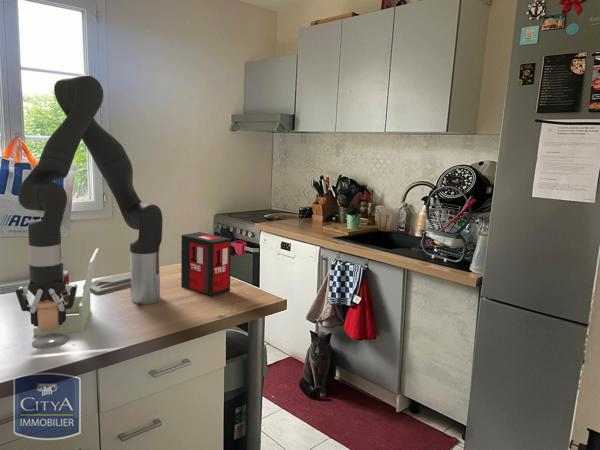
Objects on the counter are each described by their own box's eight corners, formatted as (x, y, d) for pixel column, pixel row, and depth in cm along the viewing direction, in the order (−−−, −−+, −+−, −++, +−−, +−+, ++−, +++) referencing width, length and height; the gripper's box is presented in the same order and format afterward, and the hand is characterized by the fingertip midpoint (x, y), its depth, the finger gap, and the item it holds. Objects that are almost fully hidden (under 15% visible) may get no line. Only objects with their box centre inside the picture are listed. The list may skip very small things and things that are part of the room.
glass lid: (88, 285, 135) (91, 285, 135) (80, 303, 120) (83, 303, 120) (96, 248, 133) (98, 248, 134) (89, 261, 119) (92, 262, 119)
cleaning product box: (181, 287, 164) (181, 235, 161) (199, 282, 171) (200, 232, 168) (212, 297, 155) (212, 242, 151) (229, 291, 162) (231, 238, 158)
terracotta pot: (60, 331, 112) (58, 296, 110) (33, 333, 110) (31, 298, 109) (64, 322, 118) (63, 289, 116) (39, 324, 116) (37, 290, 114)
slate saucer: (71, 335, 120) (71, 332, 120) (65, 348, 112) (65, 346, 112) (36, 338, 117) (36, 335, 117) (28, 352, 109) (28, 349, 109)
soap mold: (82, 289, 157) (82, 280, 157) (132, 278, 173) (132, 269, 173) (97, 296, 152) (97, 287, 151) (147, 284, 168) (147, 275, 167)
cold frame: (90, 312, 136) (89, 287, 135) (83, 333, 121) (82, 305, 120) (47, 314, 132) (45, 289, 131) (33, 337, 118) (32, 308, 116)
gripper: (8, 266, 105) (12, 332, 108) (75, 264, 109) (77, 328, 112) (17, 258, 112) (21, 321, 115) (79, 256, 116) (82, 317, 119)
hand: (49, 324), depth 114 cm, fingers closed on terracotta pot, 5 cm apart
